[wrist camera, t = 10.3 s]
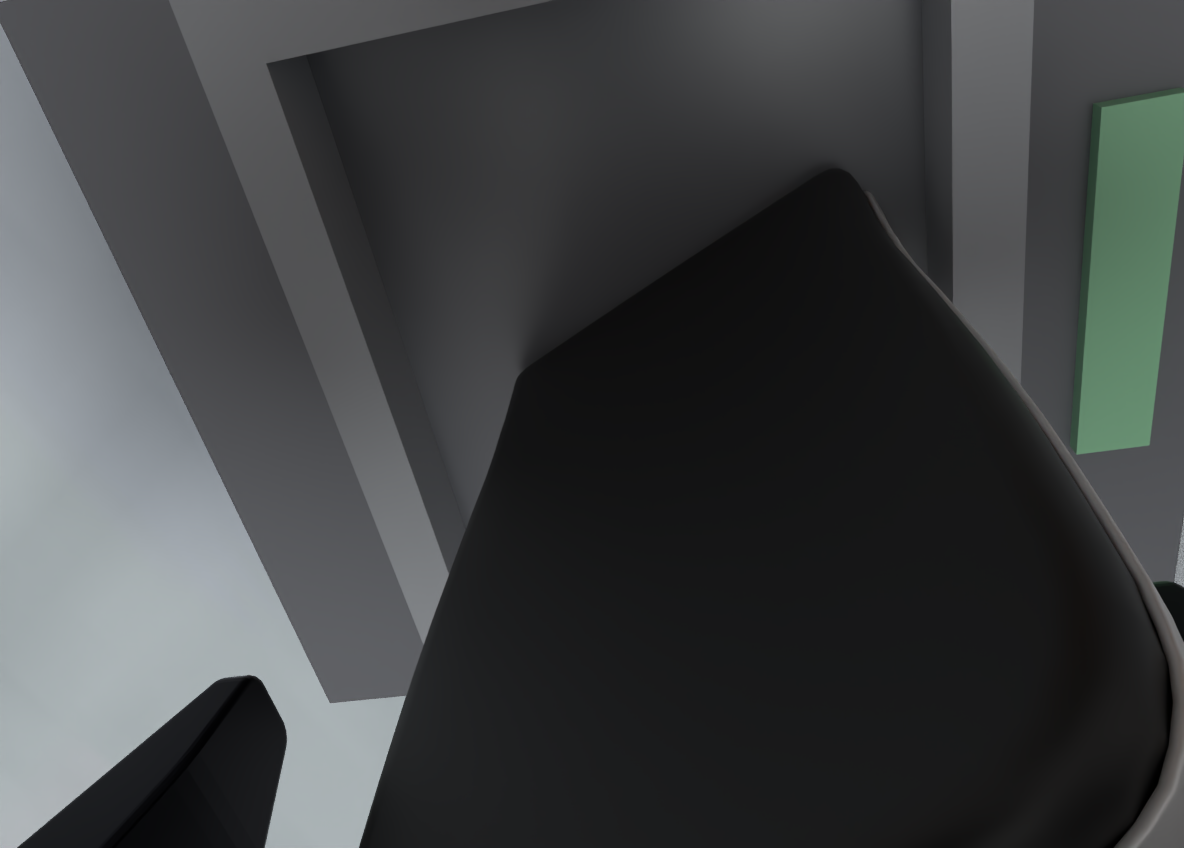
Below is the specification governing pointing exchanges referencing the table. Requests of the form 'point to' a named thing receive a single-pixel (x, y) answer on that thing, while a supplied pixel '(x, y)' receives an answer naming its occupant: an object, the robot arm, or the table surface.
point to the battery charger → (788, 585)
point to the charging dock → (592, 229)
